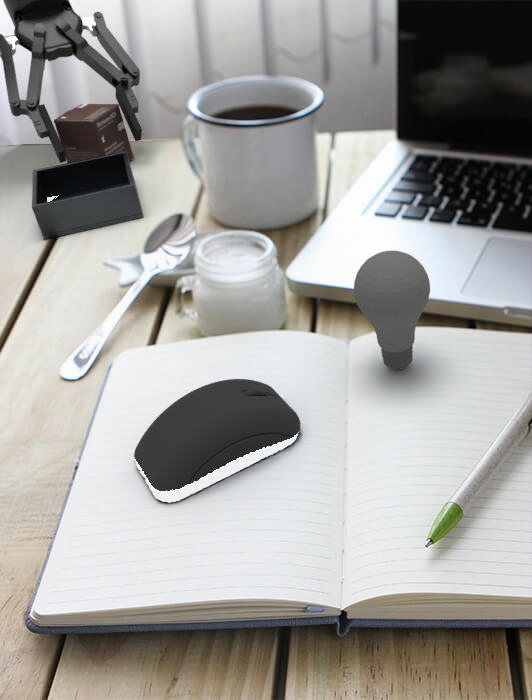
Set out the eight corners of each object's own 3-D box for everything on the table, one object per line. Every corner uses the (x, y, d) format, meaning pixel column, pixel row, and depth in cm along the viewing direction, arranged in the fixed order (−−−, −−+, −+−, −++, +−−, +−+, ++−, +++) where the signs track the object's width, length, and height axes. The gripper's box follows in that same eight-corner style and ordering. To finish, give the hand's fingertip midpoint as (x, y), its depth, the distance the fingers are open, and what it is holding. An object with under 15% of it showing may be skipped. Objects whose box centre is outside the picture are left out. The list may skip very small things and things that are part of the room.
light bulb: (425, 393, 59) (418, 278, 53) (354, 385, 60) (340, 273, 54) (440, 349, 63) (435, 238, 57) (374, 342, 64) (362, 234, 59)
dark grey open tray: (44, 201, 95) (32, 170, 92) (135, 181, 97) (126, 150, 95) (44, 240, 86) (31, 207, 84) (143, 217, 88) (134, 184, 86)
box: (109, 178, 99) (92, 121, 94) (70, 175, 100) (51, 120, 96) (135, 158, 103) (120, 103, 99) (96, 156, 105) (80, 102, 101)
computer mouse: (309, 437, 56) (301, 393, 54) (162, 510, 52) (146, 467, 49) (268, 393, 60) (260, 351, 58) (130, 457, 56) (114, 415, 54)
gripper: (-65, -12, 92) (8, 156, 90) (114, -47, 100) (185, 107, 98) (-52, 28, 99) (16, 184, 97) (114, -8, 107) (181, 137, 105)
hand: (101, 146), depth 97 cm, fingers open, 9 cm apart
